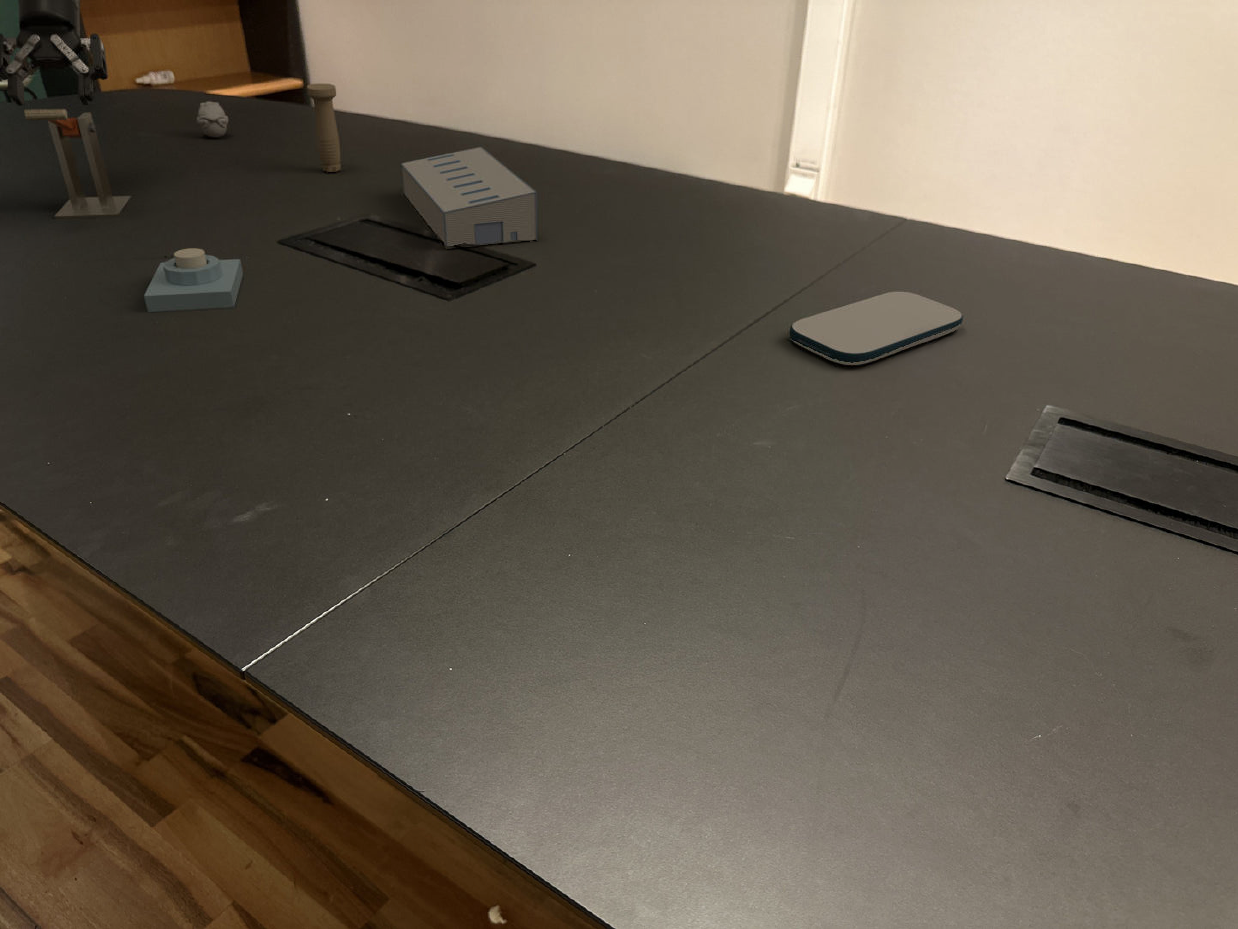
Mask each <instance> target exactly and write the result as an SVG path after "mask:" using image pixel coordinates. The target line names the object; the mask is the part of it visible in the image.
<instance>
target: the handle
mask: <svg viewBox="0 0 1238 929" xmlns="http://www.w3.org/2000/svg"><path fill="white" fill-rule="evenodd" d="M306 90H307V96H308V97H309V98H311V99H312V100H313V107H314V108H313V109H314V116H315V117H314V118H315V129H316V130H315V131H316V141H317V147H318V153H319V157H320V162H321V163H322V164H321V167H322V171H323V172H324V171H326V172H325V173H328V172H337V171H339V170H340V171H342V163H341V147H340V137H339V133H338V127H337V121H336V116H335V109H334V103H333V100H334V98H335V97H337V89H336V86H335V85H334V84H332V83H311V84H307V86H306ZM340 171H339V172H340ZM337 173H338V172H337Z"/></svg>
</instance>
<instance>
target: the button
mask: <svg viewBox="0 0 1238 929" xmlns="http://www.w3.org/2000/svg"><path fill="white" fill-rule="evenodd" d="M205 252H206V251H205V250H204V249H202V248H193V247H192V248H191V247H190V248H183V249H180V250H177V251H175V252H174V253H173V258H175V262H176V266H177V268H183V269H189V268H197V267H202V266H205V265H207V261H206V256H205V255H206V253H205Z"/></svg>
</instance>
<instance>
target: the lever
mask: <svg viewBox="0 0 1238 929" xmlns="http://www.w3.org/2000/svg"><path fill="white" fill-rule="evenodd" d="M23 112H24V117H25V119H26V120H27V121H47V122H48V121H49V122H51V123H53V124H55V125H58V126H60V127H62V132H63V135H64V136H67V137H69V139H82V136H81V132H80V129H79V125H78V121H77V118H78V117H69V116H68V111H67V110H66V108H25V109H24V111H23Z"/></svg>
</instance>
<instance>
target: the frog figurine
mask: <svg viewBox="0 0 1238 929" xmlns="http://www.w3.org/2000/svg"><path fill="white" fill-rule="evenodd" d="M196 122H197V124H198V126H200V128H201V130H202V132H203V133H204V134H205V135H206V136H208V137H210V138H213V139H218V138H221V137H223V136H224V135H225V134H226V133H227V129H228V126H227V125H228V124H229V117H228V116H227V115H226V113H225V110H224V109H223V107H222V106H221V105H220V103H219V102H216V101H214V102H213V101H212V100H210V101H205V102H201V103H200V104H199V108H198V111H197V117H196Z"/></svg>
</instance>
